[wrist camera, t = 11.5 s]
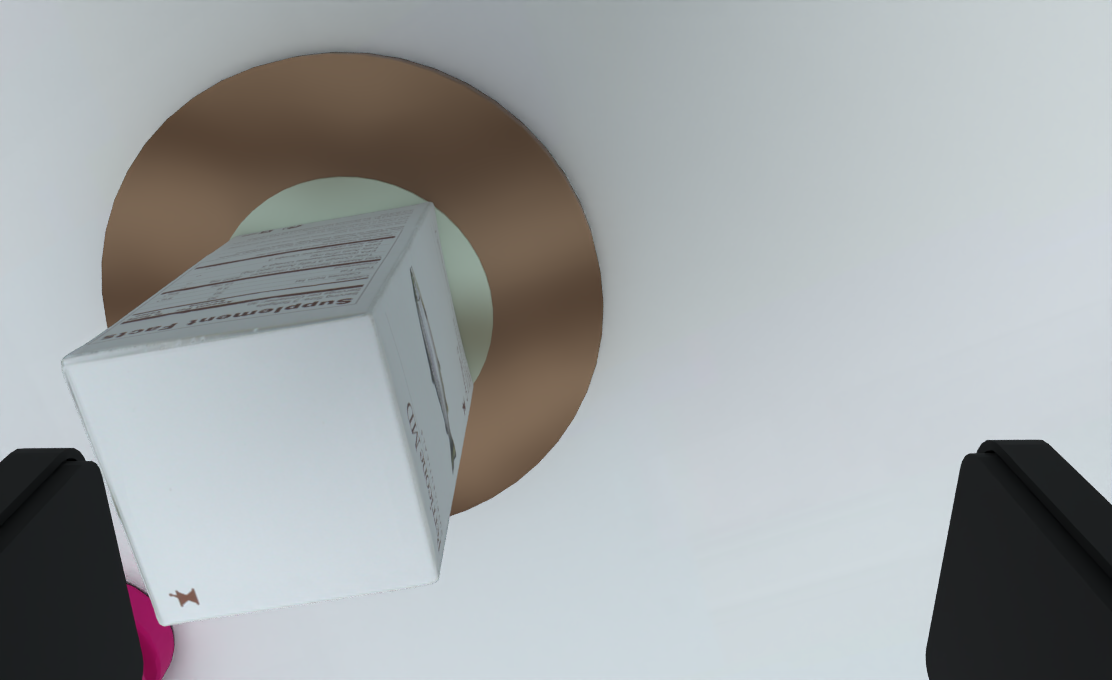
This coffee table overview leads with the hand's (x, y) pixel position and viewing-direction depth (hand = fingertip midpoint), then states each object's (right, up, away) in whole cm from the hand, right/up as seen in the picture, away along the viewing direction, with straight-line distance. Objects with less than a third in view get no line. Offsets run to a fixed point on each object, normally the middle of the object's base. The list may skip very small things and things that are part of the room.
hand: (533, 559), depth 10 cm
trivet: (-7, +4, +25) cm, 26 cm away
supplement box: (-7, +4, +23) cm, 24 cm away
